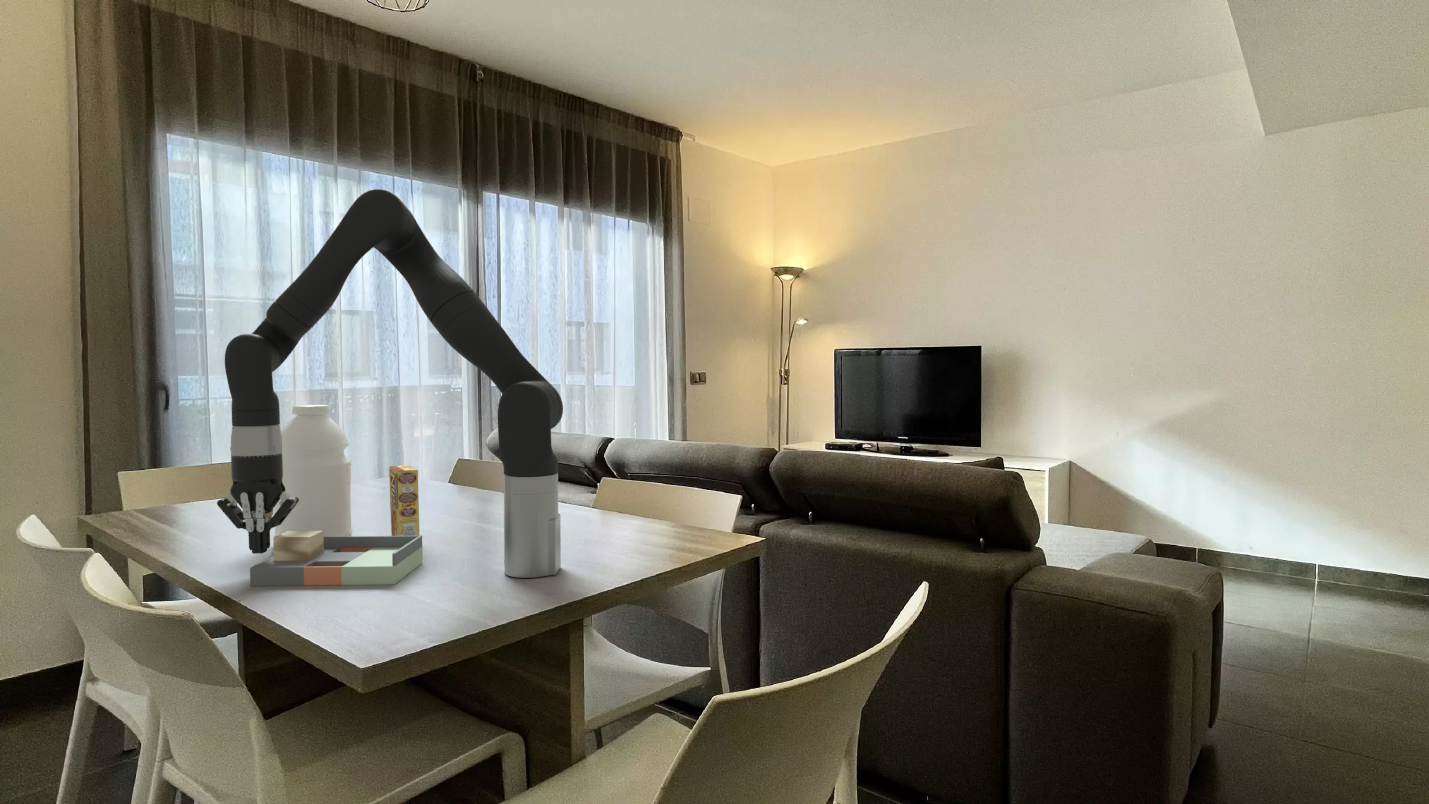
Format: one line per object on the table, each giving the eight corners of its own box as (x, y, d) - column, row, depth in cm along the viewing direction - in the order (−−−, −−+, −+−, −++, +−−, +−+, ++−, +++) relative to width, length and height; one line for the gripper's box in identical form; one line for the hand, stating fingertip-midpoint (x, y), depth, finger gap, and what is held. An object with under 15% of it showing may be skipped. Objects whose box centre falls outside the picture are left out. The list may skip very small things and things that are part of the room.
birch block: (323, 553, 134) (323, 530, 134) (310, 560, 129) (309, 536, 129) (288, 553, 134) (288, 530, 134) (273, 560, 129) (273, 537, 129)
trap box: (422, 562, 140) (422, 535, 139) (394, 584, 126) (394, 554, 126) (292, 564, 138) (292, 536, 138) (250, 586, 124) (249, 555, 124)
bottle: (262, 552, 147) (259, 407, 146) (289, 536, 161) (287, 403, 160) (340, 549, 150) (337, 406, 148) (360, 534, 163) (358, 403, 162)
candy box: (420, 545, 154) (419, 469, 153) (398, 547, 151) (397, 470, 151) (410, 537, 161) (409, 464, 160) (389, 539, 159) (388, 465, 158)
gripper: (307, 449, 135) (309, 547, 135) (229, 449, 134) (232, 548, 135) (285, 454, 127) (288, 557, 128) (203, 454, 126) (206, 558, 127)
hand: (259, 552), depth 131 cm, fingers closed
